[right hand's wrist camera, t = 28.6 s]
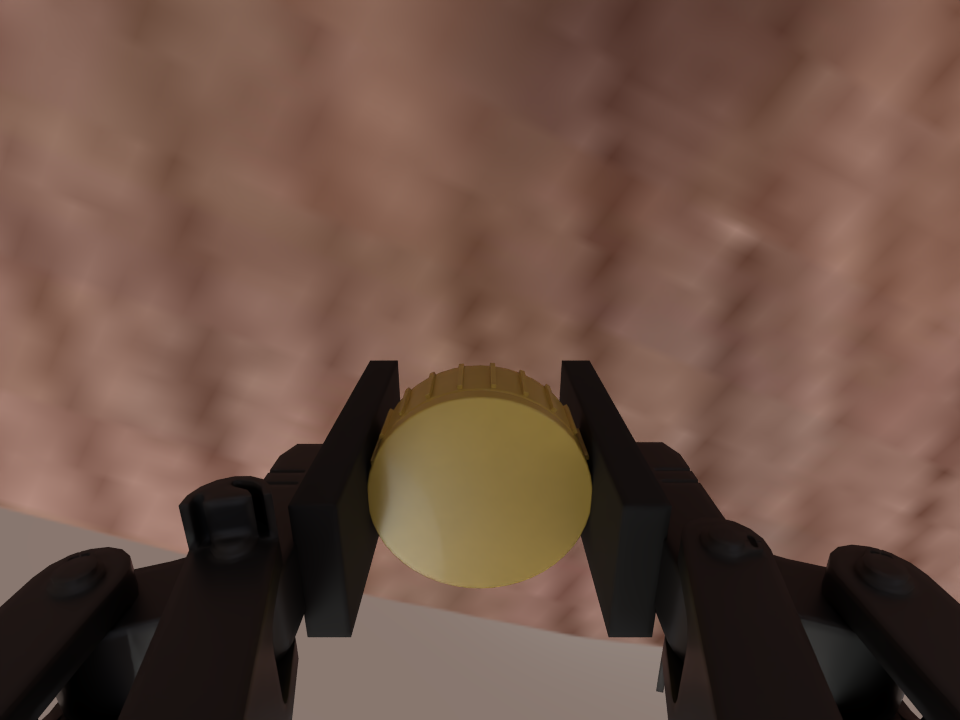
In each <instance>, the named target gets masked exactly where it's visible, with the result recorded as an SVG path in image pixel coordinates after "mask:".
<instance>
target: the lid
mask: <svg viewBox="0 0 960 720" xmlns="http://www.w3.org/2000/svg"><path fill="white" fill-rule="evenodd" d="M587 460H589V454H588V452H587V449H586V446H585V444H584V441H583V439H582V436H581V433H580V431H579V428H578V429H577V428H576V426H575V423H574V420H573V418H572V415H571V412H570V410H569V407H568V406H567V404H566V405H564V406H563V405H562V403H561V402H560V401H559V400H558V399H557V398H556V397H555V395H554V394H553V393H552V392H551V389H550V386H548V385H547V384H546V385H545V386H543V385H541V384H540V383H538V382H537V381H535V380H534V379H532V378H530V377H528V376H526V375H525V372H524V371H522V370H520V371H519V373H518V372H515V371H512V370H509V369H505V368H500V367H495V363H490V366H481V365H480V366H465V367H464V364H459V368H454V369H451V370H447V371H444V372H441V373H439V374H435V372H433V373H430V376H429V378H428V379H426V380H425V381H423V382H421V383H420V384H418V385H417V386H415V387H414V388H413V389H412V390H411V389H410V388H408V389H406V391H405V394H404V397H403V398H402V400H401V401H400V402H399V403H398V404H397V406H396V407H395V409H394V410H393V409H390V410H389V411H388V414H387V417H386V419H385V422H384V424H383V427H382V430H381V432H380V435H379V439H378V441H377V444H376V447H375V450H374V452H373V455H372V458H371V468H370V471H369V476H368V483H367V488H368V501H369V511H370V515H371V519H372V522H373V524H374V526H375V528H376V531H377V533H378V535H379V536H380V538H381V539H382V541H383V542H384V544H385V545H386V546H387V547H388V549H389V550H390V551H391V552H392V553H393V554H394V555H395V556H396V557H397V558H398V559H399V560H401V561H402V562H403V563H404V564H406V565H407V566H408V567H410V568H411V569H413V570H414V571H416V572H418V573H420V574H422V575H424V576H426V577H428V578H430V579H433V580H436V581H438V582H441V583H445V584H449V585H453V586H459V587H465V588H494V587H501V586H507V585H511V584H515V583H518V582H521V581H524V580H527V579H529V578H532V577H534V576H536V575H538V574H540V573H542V572H544V571H545V570H547V569H548V568H550V567H551V566H553V565H554V564H555V563H557V562H558V561H559V560H560V559H561V558H563V557H564V556H565V555H566V554H567V553H568V551H569V550H570V549H571V548H572V547H573V546H574V544H575V543H576V541H577V540H578V539H579V537H580V536H581V534H582V532H583V530H584V528H585V526H586V523H587V520H588V517H589V514H590V508H591V497H592V479H591V473H590V470H589V466H588V463H587Z"/></svg>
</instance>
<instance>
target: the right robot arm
mask: <svg viewBox="0 0 960 720" xmlns="http://www.w3.org/2000/svg"><path fill="white" fill-rule="evenodd" d="M399 402H400V390H399V373H398V361H370V362H369V364H368V365H367V367H366V369H365V371H364V373H363V374H362V376H361V378H360V380H359V381H358V383H357V385H356V387H355V388H354V390H353V392H352V394H351V395H350V397H349V399H348V401H347V403H346V404H345V406H344V408H343V410H342V411H341V413H340V415H339V417H338V418H337V420H336V422H335V424H334V425H333V427H332V429H331V431H330V433H329V434H328V436H327V438H326V440H325V441H324V443H323V444H297V445H295V446H294V447H292V448H291V449H289V450H288V451H286V452H285V453H284V454H282V455H281V456H280V457H279V458H278V459H277V461H276V462H275V464H274V465H273V467H272V468H271V470H270V473H268V474H267V475H266V477H265V478H264V480H263V479H260V478H256V477H252V476H234V477H229V478H225V479H220V480H216V481H214V482H211V483H209V484H206V485H204V486H201V487H199V488H198V489H196V490H195V491H193V492H192V493H190V494H189V495H187V496H186V497H185V499H184V500H183V501H182V502H181V503H180V505H179V509H180V514H181V518H182V522H183V526H184V530H185V535H186V539H187V543H188V547H189V552H188V554H187V557H185V558H182V559H179V560H175V561H171V562H166V563H162V564H157V565H152V566H148V567H143V568H138V569H134V568H133V565H132V561H131V558H130V555H128V554H127V553H126V552H125V551H124V550H122V549H117V548H111V547H105V548H96V549H89V550H86V551H81V552H78V553H75V554H72V555H70V556H67V557H66V558H64V559H62V560H60V561H58V562H55V563H53V564H51V565H49V566H48V567H47V568H45V569H44V570H43V571H41V572H40V573H39V574H37V575H36V576H34V577H33V578H32V579H31V580H30V581H29V582H27V583H26V584H25V585H24V586H23V587H22V588H21V589H20V590H19V591H17V592H16V593H15V594H14V595H13V596H12V597H11V598H10V599H9V600H8V601H6V602H5V603H4V604H3V605H2V606H1V607H0V720H38V718H39V717H40V715H41V714H42V713H43V712H44V710H45V709H46V708H47V707H48V706H49V704H50V703H51V702H52V701H53V699H54V698H55V697H56V698H57V700H58V703H57V704H56V705H55V707H54V708H53V709H52V710H51V712H50V713H49V714H48V715H47V716H46V717H44V718H43V719H42V720H292V714H293V704H294V695H295V686H296V677H297V667H298V652H297V645H296V639H295V636H296V633H297V631H298V628H299V626H300V623H301V620H302V618H303V615H304V616H305V623H306V629H307V636H308V637H351V635H352V632H353V628H354V624H355V621H356V617H357V613H358V610H359V606H360V602H361V599H362V595H363V592H364V588H365V584H366V581H367V577H368V573H369V570H370V566H371V562H372V559H373V555H374V551H375V548H376V544H377V540H378V537H379V535H378V533H377V531H376V528H375V526H374V524H373V522H372V519H371V515H370V511H369V501H368V488H367V483H368V476H369V471H370V468H371V458H372V455H373V452H374V450H375V447H376V444H377V441H378V439H379V435H380V432H381V430H382V427H383V424H384V422H385V419H386V417H387V414H388V411H389V410H390V409H393V410H394V409H395V407H396V406H397V404H398V403H399ZM560 402H561V403H562V405H563V406H564V405H566V404H567V406H568V407H569V410H570V412H571V415H572V418H573V420H574V423H575V426H576V428H577V429H578V428H579V431H580V433H581V436H582V439H583V441H584V444H585V446H586V449H587V452H588V454H589V460H587V463H588V466H589V470H590V473H591V479H592V497H591V508H590V514H589V517H588V520H587V523H586V526H585V528H584V530H583V532H582V534H581V538H582V542H583V545H584V549H585V552H586V556H587V560H588V563H589V567H590V571H591V574H592V578H593V582H594V585H595V589H596V593H597V596H598V600H599V604H600V607H601V611H602V615H603V618H604V622H605V626H606V629H607V633H608V636H609V637H652V634H653V627H654V621H655V614H657V616H658V619H659V621H660V624H661V626H662V629H663V631H664V634H665V639H664V645H663V651H662V657H661V663H660V670H659V676H658V682H657V689H656V691H658V692H663V690H664V685H665V694H666V703H667V713H668V720H960V604H959V603H958V602H957V601H956V600H955V599H954V598H953V597H951V596H950V595H949V594H948V593H947V592H946V591H945V590H944V589H943V588H941V587H940V586H939V585H938V584H937V583H936V582H935V581H934V580H932V579H931V578H930V577H929V576H928V575H927V574H925V573H924V572H923V571H921V570H920V569H918V568H917V567H916V566H914V565H913V564H911V563H910V562H908V561H906V560H904V559H902V558H900V557H898V556H896V555H894V554H892V553H889V552H886V551H884V550H879V549H877V548H872V547H867V546H859V545H847V546H841V547H837V548H836V549H835V550H834V551H833V552H831V553H830V556H829V560H828V563H827V567H823V566H818V565H813V564H809V563H804V562H799V561H795V560H790V559H786V558H782V557H779V556H775V555H773V553H772V551H771V549H770V548H769V546H768V545H767V543H766V542H765V541H764V539H763V538H762V537H760V536H759V535H758V534H756V533H755V532H754V531H752V530H751V529H749V528H747V527H745V526H743V525H741V524H738V523H736V522H734V521H730V520H726V519H725V518H724V517H723V515H722V514H721V512H720V511H719V509H718V508H717V507H716V505H715V504H714V502H713V501H712V499H711V498H710V497H709V495H708V494H707V492H706V491H705V489H704V488H703V486H702V485H701V484H700V483H698V479H697V478H696V476H695V475H694V474H693V472H692V471H690V468H689V466H688V465H687V464H686V462H685V461H684V459H683V458H682V456H681V455H680V454H679V453H677V452H676V451H674V450H673V449H671V448H670V447H669V446H667V445H666V444H664V443H663V442H635V440H634V438H633V437H632V435H631V433H630V431H629V430H628V428H627V426H626V424H625V423H624V421H623V419H622V417H621V415H620V414H619V412H618V410H617V408H616V407H615V405H614V403H613V401H612V400H611V398H610V396H609V394H608V393H607V391H606V389H605V387H604V385H603V384H602V382H601V380H600V378H599V377H598V375H597V373H596V371H595V370H594V368H593V366H592V364H591V363H590V361H562V367H561V385H560ZM904 694H905V695H906V696H907V697H908V698H909V700H910V701H911V702H912V703H913V705H914V706H915V707H916V708H917V709H918V711H919V712H920V713H921V714H922V716H923V717H922V718H921V719H919V718H918V717H917V716H916V715H915V714H914V713H913V712H912V711H911V710H910V709H909V708H908V706H907V705H906V704H905V703H904V701H903V700H902V699H903V697H904Z"/></svg>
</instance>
